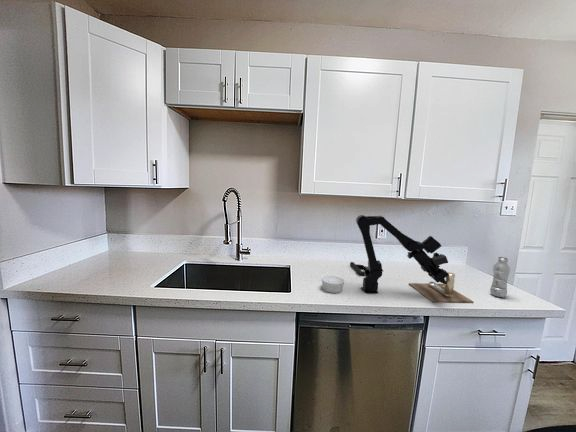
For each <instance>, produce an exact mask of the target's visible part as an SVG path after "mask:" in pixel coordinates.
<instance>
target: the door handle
mask: <svg viewBox="0 0 576 432" xmlns="http://www.w3.org/2000/svg"><path fill="white" fill-rule="evenodd" d="M349 265H350V266H351V268H352V270H353V271H354V272H355V274H357V275H358V276H359V277H365V275H364V271H366V270H367V269H368V266H365V265H364V264H356V263H355V262H353V261H351V262H350V263H349Z"/></svg>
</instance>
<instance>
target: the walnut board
mask: <svg viewBox="0 0 576 432" xmlns="http://www.w3.org/2000/svg"><path fill="white" fill-rule="evenodd" d="M436 284H437V285H438V286H439V287H441V286H443V285H445V284H443V283H436ZM408 286H410V287H411V288H412V289H414V290H415V291H416V292H418V293H419V294H421V295H422V296H423V297H424V298H426V299H427V300H428V301H430V302H431V303H435V304H436V303H440V304H442V303H445V304H447V303H449V304H450V303H451V304H474V303H475V302H474V301H473V300H472V299H470V298H468V297H467V296H465V295H463V294H462V293H460V292H458V291H456V290H455V289H453V295H451V296H445V295H444V294H442V293H441V292H439V291H438V290H436V289H434V288H433V287H429V286H428V283H426V282H425V283H419V282H415V283H414V282H409V283H408Z"/></svg>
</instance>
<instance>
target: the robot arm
mask: <svg viewBox="0 0 576 432" xmlns="http://www.w3.org/2000/svg"><path fill="white" fill-rule="evenodd" d="M355 222H356V225H357V227H358V229H359V231H360V233H361V236H362V240H363V244H364V248H365V252H366V256H367V259H368V260H367V267H368V269H367V270H366V271H364V270H363V271H364V275H365V276H364V277H363V279H362V286H361V287H360V288H361V289H362V291H363V292H364V293H365V294H379V292H378V291H379V282H378V281H379V279H380V278H381V277H382V276H383V272H384V270H383V267H382V262H381V261H380V259H378V260H377V258H376V253H375V249H374V244H373V240H372V237H371V230H370V229H371V226H375V225H377V226H378V225H380V226H381V227H382V228H384V229H385V230H386V231H387V232H389V234H390V235H392V236H393V237H394V238H395V239H396V240H397V241H398V243H400V245H401V246H402V247H403V248H404V249H405V250H407V255H406V257H407V258H408V259H414V260H415V261H416V262H417V264H419V266H420V269H421V271H423V272H424V273H425V272H426V273H427V275H428V276H429V277H430V278H431V279H432V280H433V281H434V282H435V283H436V284H439V283H440V284H446V277H447V276H448V275H449V274H448V273H447V272H448V271H447V270H445V269H443V268H441V267H440V266H441V265H443V264H444V265H445V264H448V263H449V260H448V258H447V256H446V255H445V254H442V253H438V252H436V251H437V250H438V249H440V248H442V244H441V243H440V242H439V241H438V240H437V239H435V238H434V237H433V236H432V235H429V236H428V237H426V239H424V240H423V241H422V242H420V241H417V240H415V239H413V238H411V237H409V236H408V235H406V234H404V233H403V232H402V231H400V230H399V229H398V228H397V227H395V226H394V225H393V224H392V223H390V221H388V220H387V219H386V218H385V217H384V216H383V215H367V216H366V215H365V214H359V215H358V216H357V217H356V218H355ZM428 254H433V255H432V257H431V256H429V255H428Z"/></svg>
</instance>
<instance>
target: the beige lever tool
mask: <svg viewBox="0 0 576 432" xmlns="http://www.w3.org/2000/svg"><path fill="white" fill-rule="evenodd" d="M446 272H447V273H448V274H449V275H448V276H447V277H445V281H446V284H445V289H442V288H441V287H439V286H438V285H437V284H438V283H437V282H436V281H428V283H427V284H428V286H429V287H433V288H434V289H436V290H438V291H439V292H441V293H442V294H444V295H445V296H451V295H453V290H454V288H455V279H456V273H453V272H448V271H446ZM453 287H454V288H453Z"/></svg>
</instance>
